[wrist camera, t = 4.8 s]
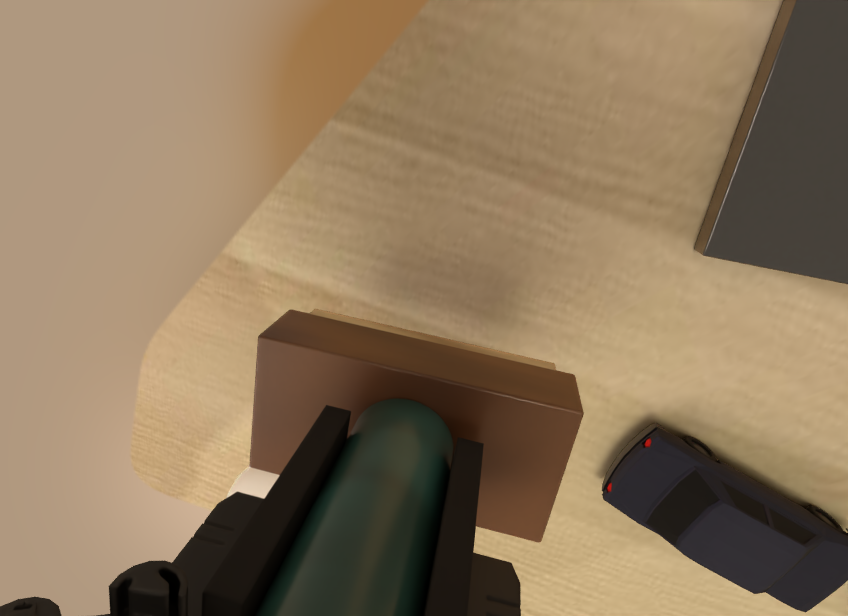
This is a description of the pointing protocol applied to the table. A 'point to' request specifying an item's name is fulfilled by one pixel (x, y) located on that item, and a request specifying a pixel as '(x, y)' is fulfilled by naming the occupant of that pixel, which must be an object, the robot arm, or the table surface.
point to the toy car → (728, 519)
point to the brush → (401, 453)
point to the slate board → (790, 153)
